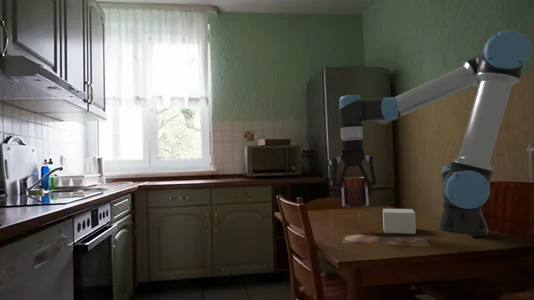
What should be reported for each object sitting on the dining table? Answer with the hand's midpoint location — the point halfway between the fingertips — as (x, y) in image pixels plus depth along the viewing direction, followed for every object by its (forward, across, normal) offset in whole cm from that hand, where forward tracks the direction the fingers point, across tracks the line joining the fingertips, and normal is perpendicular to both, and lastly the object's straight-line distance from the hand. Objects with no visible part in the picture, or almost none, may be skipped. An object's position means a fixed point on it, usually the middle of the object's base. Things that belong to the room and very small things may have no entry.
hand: (355, 205), depth 129 cm
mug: (+1, 0, 0) cm, 1 cm away
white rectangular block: (+11, -14, -4) cm, 18 cm away
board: (+10, -9, +12) cm, 18 cm away
